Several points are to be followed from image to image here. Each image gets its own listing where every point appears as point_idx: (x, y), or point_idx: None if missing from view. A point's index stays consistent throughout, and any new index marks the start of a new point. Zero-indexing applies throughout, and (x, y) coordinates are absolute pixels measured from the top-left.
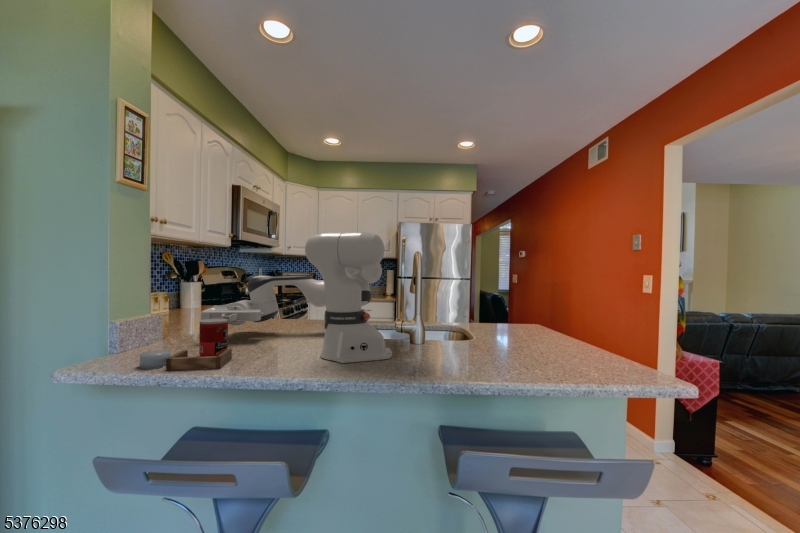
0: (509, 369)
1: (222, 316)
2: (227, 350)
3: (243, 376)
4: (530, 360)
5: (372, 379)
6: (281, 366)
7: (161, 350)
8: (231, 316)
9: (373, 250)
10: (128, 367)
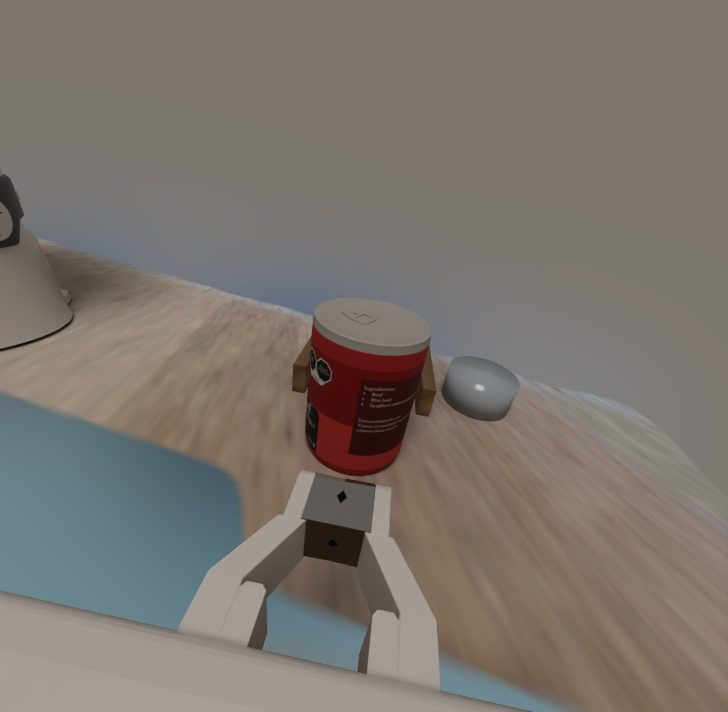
0: None
1: (379, 486)
2: (305, 353)
3: (278, 310)
4: None
5: (113, 263)
6: (197, 320)
7: (491, 391)
8: (286, 514)
9: None
10: (524, 402)
